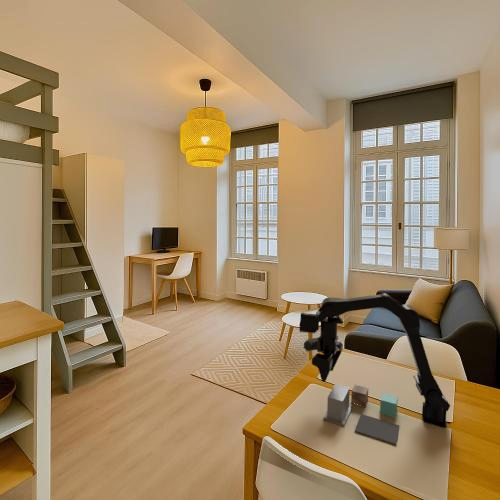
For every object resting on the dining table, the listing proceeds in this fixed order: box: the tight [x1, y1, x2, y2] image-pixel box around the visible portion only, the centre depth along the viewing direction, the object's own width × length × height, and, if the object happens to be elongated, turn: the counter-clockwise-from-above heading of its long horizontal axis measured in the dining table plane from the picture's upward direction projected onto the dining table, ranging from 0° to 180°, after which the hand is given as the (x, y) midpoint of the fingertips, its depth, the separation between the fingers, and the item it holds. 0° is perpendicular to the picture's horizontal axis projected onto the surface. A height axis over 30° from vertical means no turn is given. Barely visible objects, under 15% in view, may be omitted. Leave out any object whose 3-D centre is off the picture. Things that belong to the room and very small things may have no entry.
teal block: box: [379, 392, 399, 419], centre depth 111 cm, size 5×5×5 cm
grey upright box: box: [322, 383, 353, 427], centre depth 110 cm, size 7×12×8 cm, turn 150°
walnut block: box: [350, 384, 369, 408], centre depth 117 cm, size 5×5×5 cm
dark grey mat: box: [354, 413, 400, 446], centre depth 102 cm, size 12×10×1 cm
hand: (327, 375), depth 114 cm, fingers open, 9 cm apart
